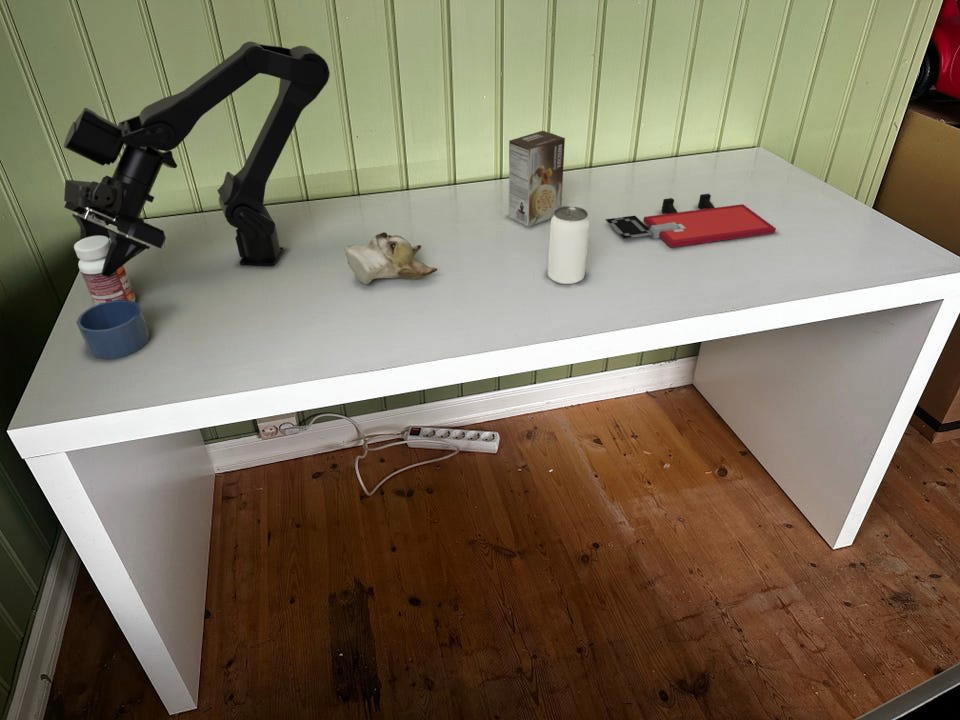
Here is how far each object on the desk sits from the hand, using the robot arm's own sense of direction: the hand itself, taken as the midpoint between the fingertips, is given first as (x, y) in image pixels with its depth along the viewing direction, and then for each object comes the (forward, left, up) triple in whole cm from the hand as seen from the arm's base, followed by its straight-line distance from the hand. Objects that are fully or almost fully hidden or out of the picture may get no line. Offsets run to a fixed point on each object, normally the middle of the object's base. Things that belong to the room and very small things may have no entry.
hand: (93, 270), depth 109 cm
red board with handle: (-100, -37, -8) cm, 106 cm away
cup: (-7, +9, -7) cm, 13 cm away
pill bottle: (-1, -1, -7) cm, 7 cm away
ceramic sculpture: (-45, -14, -8) cm, 47 cm away
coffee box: (-70, -40, -8) cm, 81 cm away
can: (-76, -16, -8) cm, 78 cm away
